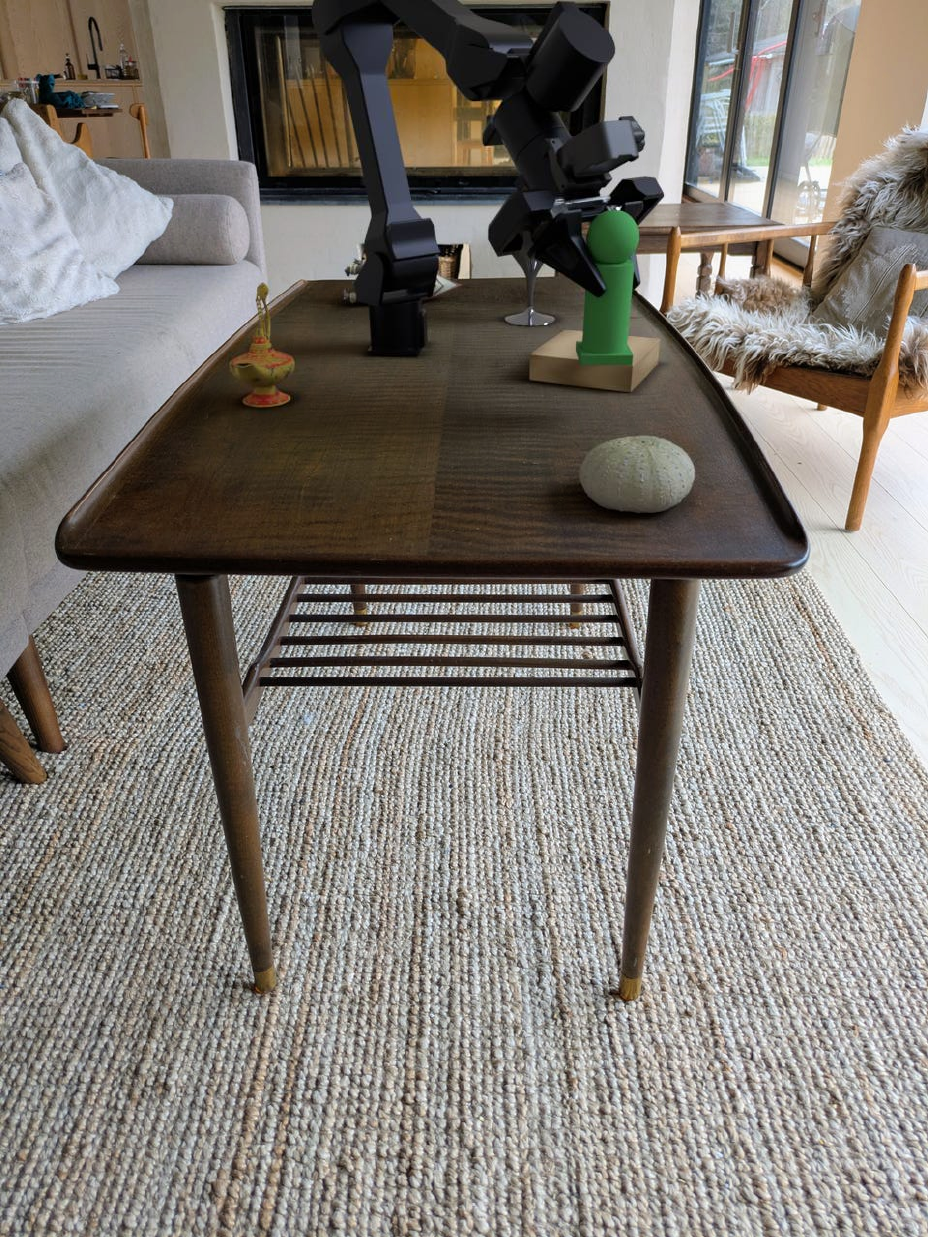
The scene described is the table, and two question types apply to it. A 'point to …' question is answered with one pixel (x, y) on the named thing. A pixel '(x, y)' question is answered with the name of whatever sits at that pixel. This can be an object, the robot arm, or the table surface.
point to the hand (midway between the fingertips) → (619, 290)
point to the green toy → (609, 291)
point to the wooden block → (564, 366)
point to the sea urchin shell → (637, 474)
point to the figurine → (440, 288)
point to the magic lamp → (263, 364)
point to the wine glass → (528, 286)
